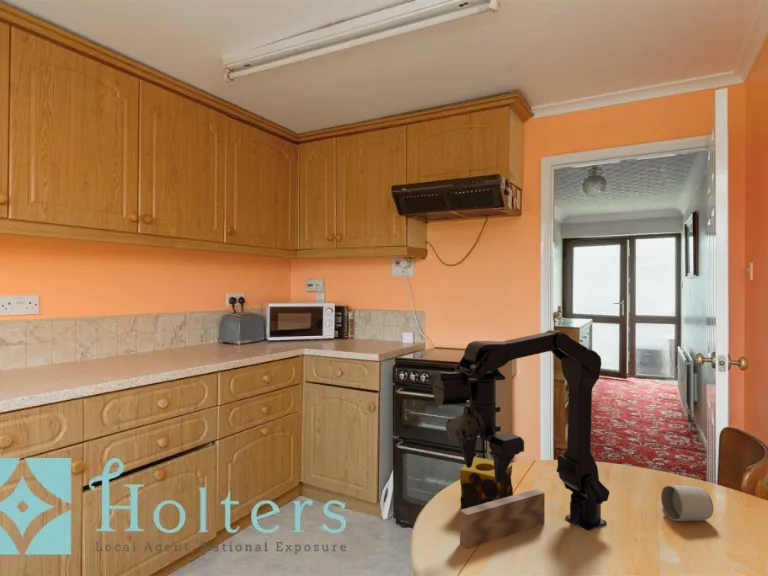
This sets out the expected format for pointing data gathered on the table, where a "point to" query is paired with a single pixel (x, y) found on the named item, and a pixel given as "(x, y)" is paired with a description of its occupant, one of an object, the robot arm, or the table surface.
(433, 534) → the table surface
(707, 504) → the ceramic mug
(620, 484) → the table surface
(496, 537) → the brown wooden board
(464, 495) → the spotted yellow cube
